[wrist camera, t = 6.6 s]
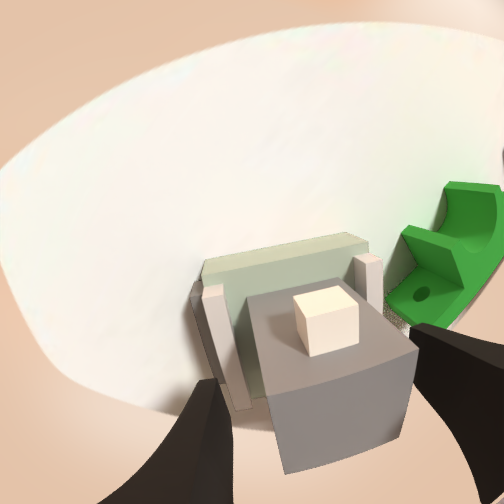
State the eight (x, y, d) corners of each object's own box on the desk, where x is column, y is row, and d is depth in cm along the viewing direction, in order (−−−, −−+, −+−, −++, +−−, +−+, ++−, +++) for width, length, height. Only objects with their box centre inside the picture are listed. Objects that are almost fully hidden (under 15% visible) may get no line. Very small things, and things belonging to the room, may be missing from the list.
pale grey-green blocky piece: (345, 231, 14) (381, 247, 10) (351, 345, 16) (378, 380, 12) (189, 262, 13) (177, 290, 10) (221, 375, 15) (221, 420, 12)
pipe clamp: (467, 157, 14) (516, 157, 9) (484, 201, 15) (531, 209, 10) (362, 267, 15) (409, 296, 10) (390, 309, 16) (433, 345, 11)
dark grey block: (335, 250, 11) (423, 307, 6) (342, 351, 13) (398, 437, 7) (240, 269, 11) (257, 355, 5) (262, 371, 12) (284, 474, 7)
